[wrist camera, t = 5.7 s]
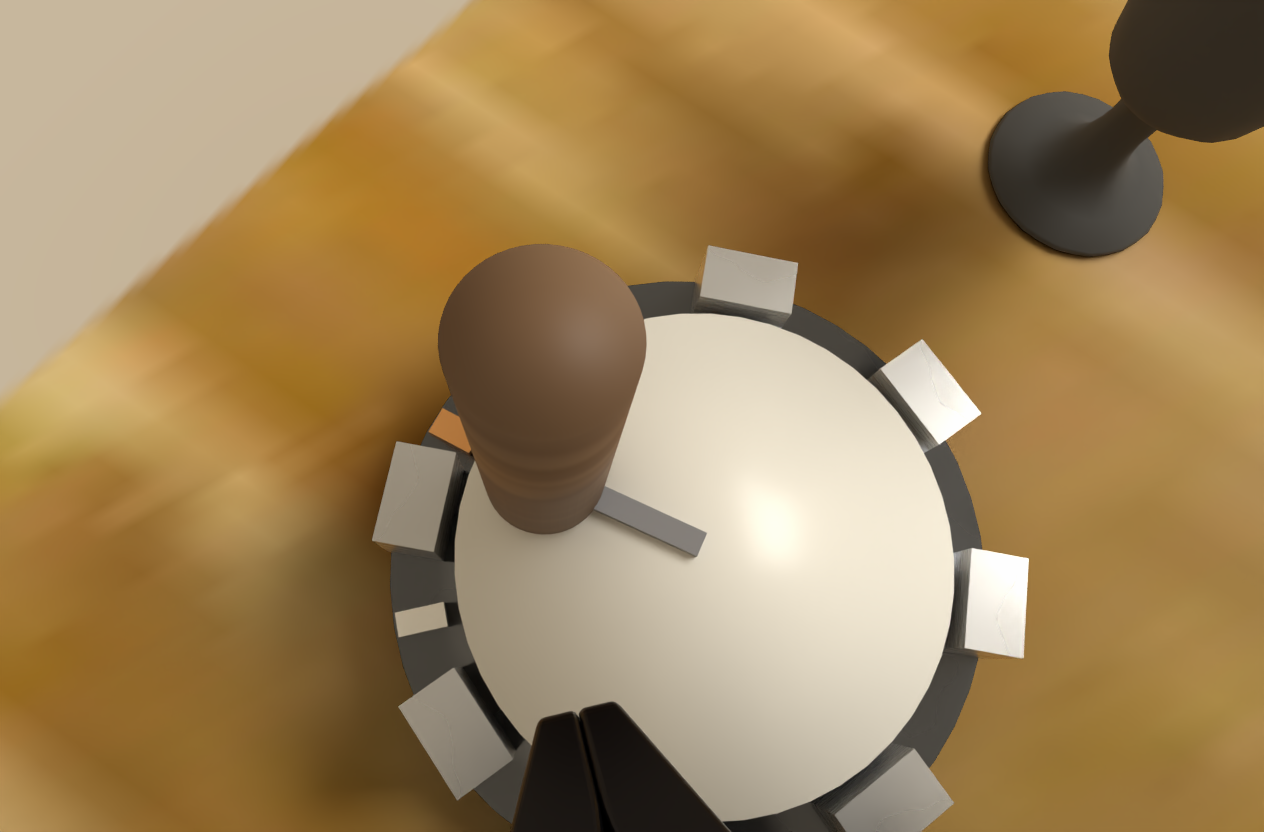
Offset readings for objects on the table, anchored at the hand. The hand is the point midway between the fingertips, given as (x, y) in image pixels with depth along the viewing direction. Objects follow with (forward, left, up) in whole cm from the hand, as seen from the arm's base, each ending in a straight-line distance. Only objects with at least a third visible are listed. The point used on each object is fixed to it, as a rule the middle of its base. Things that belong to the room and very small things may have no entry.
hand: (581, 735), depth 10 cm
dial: (+2, -3, -9) cm, 10 cm away
